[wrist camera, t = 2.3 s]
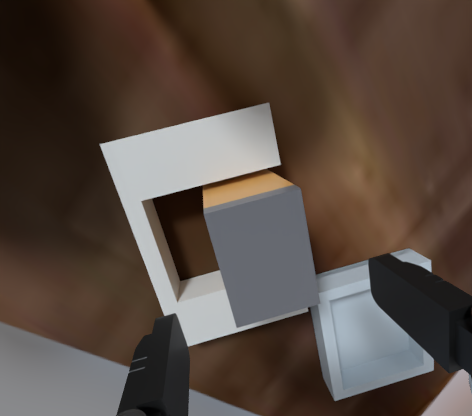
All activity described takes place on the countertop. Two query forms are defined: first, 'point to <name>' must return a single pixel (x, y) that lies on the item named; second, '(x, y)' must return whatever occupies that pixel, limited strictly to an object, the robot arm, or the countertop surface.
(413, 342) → the tray
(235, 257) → the orange grey block
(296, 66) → the countertop surface
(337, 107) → the countertop surface
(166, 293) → the bay
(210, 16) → the countertop surface
